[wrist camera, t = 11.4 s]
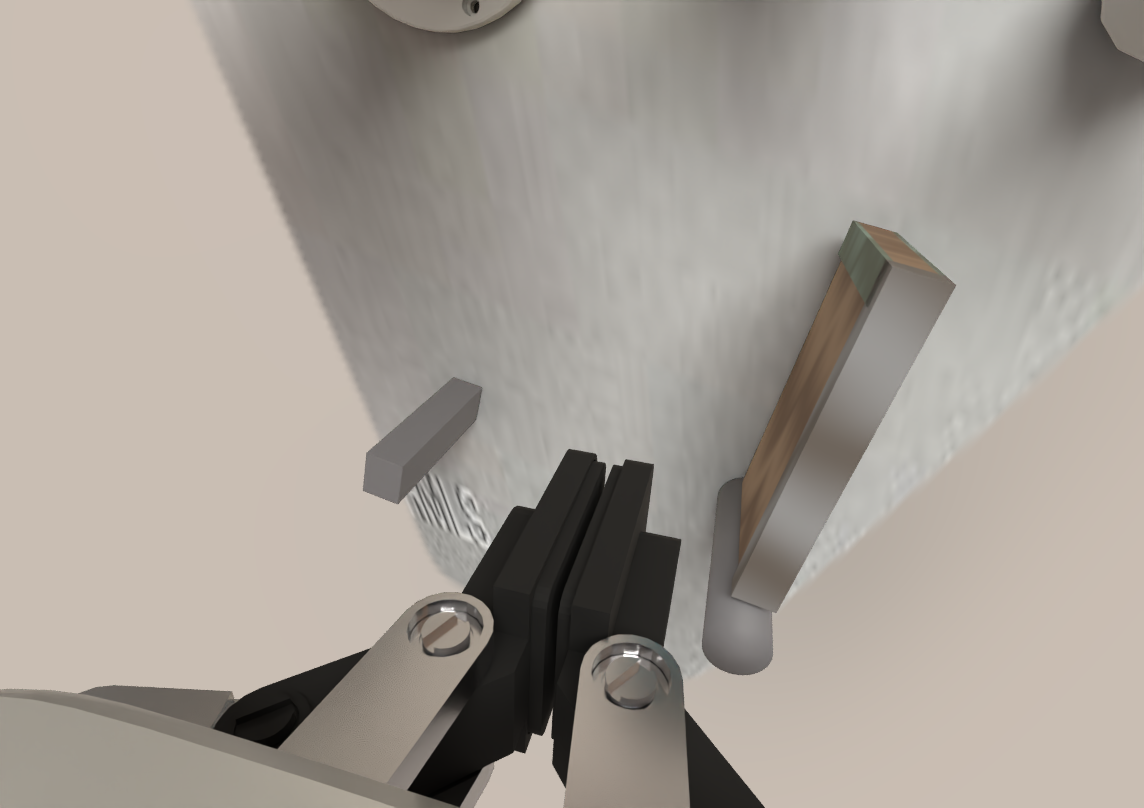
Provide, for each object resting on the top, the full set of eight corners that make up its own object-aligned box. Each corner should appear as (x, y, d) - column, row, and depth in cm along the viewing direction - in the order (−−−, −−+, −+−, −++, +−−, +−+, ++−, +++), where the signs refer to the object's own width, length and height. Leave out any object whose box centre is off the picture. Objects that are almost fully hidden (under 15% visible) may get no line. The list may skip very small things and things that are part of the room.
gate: (772, 492, 35) (776, 613, 27) (737, 480, 35) (731, 596, 27) (897, 232, 28) (956, 285, 20) (852, 220, 28) (892, 266, 20)
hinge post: (710, 509, 38) (692, 658, 28) (728, 471, 37) (715, 613, 27) (757, 526, 38) (757, 684, 28) (777, 488, 37) (784, 639, 26)
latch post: (448, 409, 41) (362, 490, 32) (453, 377, 39) (366, 452, 31) (476, 419, 40) (397, 504, 32) (482, 387, 39) (402, 466, 30)
